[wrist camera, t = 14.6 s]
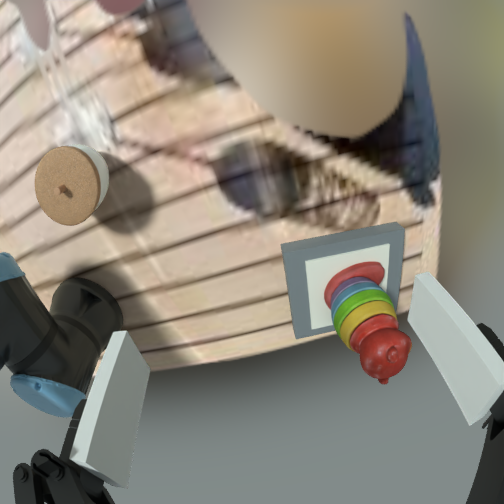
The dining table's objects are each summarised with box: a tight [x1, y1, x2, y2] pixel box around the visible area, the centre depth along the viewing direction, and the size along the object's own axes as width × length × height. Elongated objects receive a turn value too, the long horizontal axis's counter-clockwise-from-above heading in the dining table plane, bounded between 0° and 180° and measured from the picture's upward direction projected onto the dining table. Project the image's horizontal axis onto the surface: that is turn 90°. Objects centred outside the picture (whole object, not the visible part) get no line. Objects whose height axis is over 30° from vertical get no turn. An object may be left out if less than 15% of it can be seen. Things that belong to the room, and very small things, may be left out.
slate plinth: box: [281, 222, 405, 339], centre depth 47 cm, size 20×18×3 cm
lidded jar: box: [35, 144, 109, 226], centre depth 33 cm, size 11×11×9 cm
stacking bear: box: [324, 261, 412, 384], centre depth 38 cm, size 11×10×18 cm
